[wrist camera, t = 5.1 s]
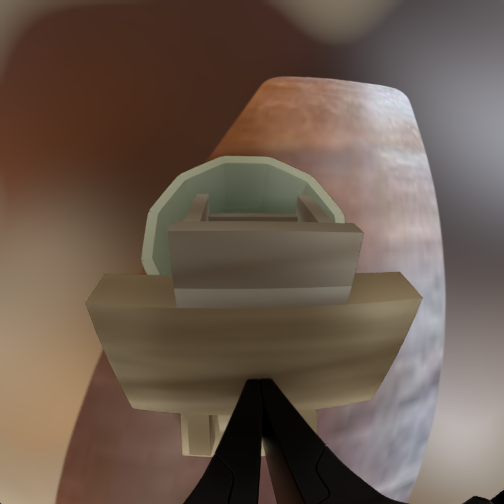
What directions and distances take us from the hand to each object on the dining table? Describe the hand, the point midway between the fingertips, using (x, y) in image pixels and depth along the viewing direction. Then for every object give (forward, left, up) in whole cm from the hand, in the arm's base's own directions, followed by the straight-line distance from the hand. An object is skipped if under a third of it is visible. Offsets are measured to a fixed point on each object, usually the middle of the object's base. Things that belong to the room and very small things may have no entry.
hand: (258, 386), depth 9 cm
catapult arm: (-2, 0, -6) cm, 6 cm away
